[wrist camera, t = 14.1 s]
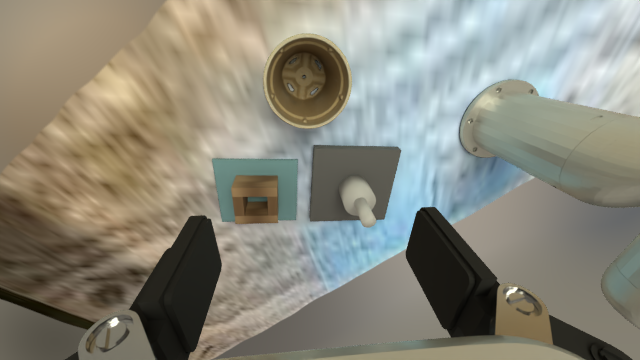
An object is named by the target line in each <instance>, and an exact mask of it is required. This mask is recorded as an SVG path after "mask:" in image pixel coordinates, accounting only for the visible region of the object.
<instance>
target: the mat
mask: <svg viewBox="0 0 640 360" xmlns="http://www.w3.org/2000/svg"><path fill="white" fill-rule="evenodd" d="M212 162H213V168H214V174H215V180H216V186H217V192H218V199H219V205H220V211H221V217H222V222H231V221H235V215H234V207H233V199H232V191H231V187H232V185H233V182H234V179H235V177H236V175H278V220H296V206H297V166H298V159H212ZM263 201H267V197H248V202H263Z"/></svg>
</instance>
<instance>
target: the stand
mask: <svg viewBox="0 0 640 360" xmlns="http://www.w3.org/2000/svg"><path fill="white" fill-rule="evenodd" d="M400 153H401V150H400V149H399V148H398V147H381V146H330V145H314V150H313V167H312V184H311V201H310V221H341V220H361V223H362V225H363V226H364V227H372V226H373V225H374V224H375V223H376V220H381V219H384V218H385V214H386V210H387V206H388V202H389V198H390V194H391V190H392V186H393V182H394V178H395V174H396V170H397V166H398V162H399V157H400Z"/></svg>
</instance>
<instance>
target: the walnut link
mask: <svg viewBox="0 0 640 360" xmlns="http://www.w3.org/2000/svg"><path fill="white" fill-rule="evenodd" d="M231 191H232V199H233V207H234V215H235V223H236V224H251V223H278V175H236V177H235V179H234V182H233V185H232V187H231ZM248 197H267V201H263V202H248Z"/></svg>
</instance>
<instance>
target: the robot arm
mask: <svg viewBox="0 0 640 360" xmlns="http://www.w3.org/2000/svg"><path fill="white" fill-rule="evenodd" d="M460 139H461V142H462V145H463V147H464V148H465V149H466V150H467V151H468V152H470V153H471V154H473V155H475V156H477V157H482V158H490V157H495V156H497V157H499V158H501V159H503V160H505V161H507V162H509V163H510V164H512V165H514V166H516V167H518V168H520V169H522V170H523V171H525V172H527V173H529V174H531V175H533V176H535V177H537V178H538V179H540V180H542V181H544V182H546V183H548V184H550V185H551V186H553V187H555V188H557V189H559V190H561V191H563V192H565V193H567V194H569V195H571V196H572V197H574V198H576V199H578V200H580V201H583V202H585V203H588V204H592V205H596V206H601V207H611V208H613V207H614V208H619V207H621V208H625V207H640V117H636V116H631V115H626V114H621V113H616V112H611V111H607V110H602V109H597V108H592V107H588V106H583V105H578V104H573V103H569V102H564V101H559V100H554V99H549V98H545V97H540V96H539V94H538V92H537V90H536V88H534V87H533V86H532V85H531V84H530V83H528V82H526V81H521V80H505V81H501V82H498V83H496V84H494V85H492V86H490V87H488V88H487V89H486V90H484V91H483V92H482V93H480V94H479V95H478V96H477V97H476V98H475V99H474V101H473V102H472V103H471V104H470V106H469V107H468V109H467V111H466V112H465V114H464V117H463V119H462V122H461V127H460ZM406 259H407V261H408V263H409V265H410V267H411V268H412V270H413V272H414V274H415V276H416V277H417V280H418V282H419V283H420V285H421V287H422V289H423V291H424V293H425V295H426V297H427V299H428V301H429V302H430V305H431V306H432V308H433V310H434V312H435V314H436V316H437V318H438V320H439V322H440V324H441V325H442V327H443V328H444V329H447V331H448V332H449V334H450V336H451V338H440V339H428V340H416V341H405V342H393V343H381V344H370V345H359V346H348V347H338V348H326V349H315V350H305V351H295V352H284V353H273V354H263V355H254V356H243V357H234V358H224V359H217V360H632V359H631V358H630V357H629V356H627V355H626V354H624V353H623V352H622V351H620V350H618V349H617V348H615V347H613V346H612V345H610V344H607V343H606V342H604V341H602V340H600V339H598V338H595V337H593V336H591V335H589V334H587V333H585V332H583V331H581V330H579V329H577V328H575V327H573V326H571V325H569V324H567V323H565V322H563V321H561V320H559V319H557V318H555V317H553V316H551V315H549V314H548V310H547V307H546V306H545V304H544V303H543V301H542V300H541V299H540V298H538V296H536V295H535V294H534V293H532V292H531V291H529V290H528V289H526V288H524V287H522V286H519V285H516V284H512V283H504V284H501V285H500V284H499V283H498V282H497V277H496V276H495V275H494V274H493V273H492V272H491V271H490V269H489V268H488V267H487V266H486V265H485V264H484V263H483V262H482V260H481V259H480V258H479V257H478V256H477V255H476V253H475V252H474V251H473V250H472V249H471V248H470V246H469V245H468V244H467V243H466V242H465V241H464V240H463V239H462V237H461V236H460V235H459V234H458V233H457V232H456V230H455V229H454V228H453V227H452V226H451V225H450V223H449V222H448V221H447V220H446V219H445V218H444V217H443V215H442V214H441V213H440V212H439V211H438V210H437V209H436V208H435V207H423V208H421V209H420V211H417V213H416V217H415V220H414V224H413V228H412V231H411V235H410V239H409V242H408V246H407V250H406ZM221 266H222V263H221V259H220V254H219V250H218V246H217V242H216V238H215V234H214V230H213V226H212V222H211V219H207V217H206V216H190V217H189V219H188V220H187V222H186V224H185V225H184V227H183V229H182V230H181V232H180V234H179V235H178V237H177V239H176V240H175V242H174V244H173V245H172V247H171V248H169V249H167V250H166V251H165V252H164V254H163V255H162V257H161V259H160V260H159V262H158V264H157V265H156V267H155V268H154V270H153V272H152V273H151V275H150V276H149V278H148V280H147V281H146V283H145V285H144V286H143V288H142V289H141V291H140V293H139V294H138V296H137V297H136V299H135V301H134V302H133V304H132V306H131V307H130V309H129V310H122V311H118V312H114V313H112V314H110V315H107V316H105V317H104V318H102V319H101V320H99V321H98V322H96V323H95V324H94V325H93V326H92V327H91V328H90V329H89V330H88V331H87V332H86V334H85V335H84V336H83V337H82V339H81V342H80V344H79V348H78V352H76V353H75V354H73V355H72V356H70V357H68V358H67V359H65V360H188V358H189V355H190V352H194V351H195V349H196V347H197V344H198V341H199V337H200V334H201V331H202V328H203V325H204V322H205V319H206V316H207V312H208V309H209V306H210V303H211V300H212V297H213V294H214V291H215V287H216V284H217V281H218V278H219V275H220V272H221ZM601 288H602V292H603V294H604V296H605V298H606V299H607V301H608V302H609V303H610V304H611V305H612V307H613V308H614V309H615V310H616V311H617V312H618V313H620V314H621V315H622V316H623V317H624V318H625V319H626V320H628V321H629V322H630V323H631V324H633V325H634V326H635V327H637V328H638V329H640V234H639V235H638V236H637V237H636V238H635V239H634V240H633V241H632V242H631V243H630V244H629V245H628V246H627V248H625V249H624V251H623V252H622V253H621V254H620V255H619V256H618V257H617V258H616V259H615V260H614V261H613V262H612V263H611V264H610V266H609V267H608V268H607V269H606V271H605V272H604V274H603V276H602V279H601ZM464 336H465V337H464Z"/></svg>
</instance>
